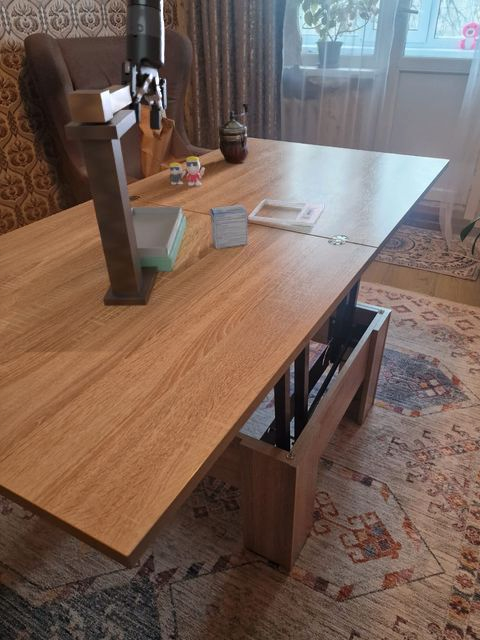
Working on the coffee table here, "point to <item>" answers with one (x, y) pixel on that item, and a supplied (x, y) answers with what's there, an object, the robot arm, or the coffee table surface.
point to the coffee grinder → (234, 139)
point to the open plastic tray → (158, 235)
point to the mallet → (98, 103)
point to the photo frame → (304, 218)
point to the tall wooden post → (114, 207)
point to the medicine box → (229, 226)
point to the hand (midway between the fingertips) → (145, 126)
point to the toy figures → (191, 167)
